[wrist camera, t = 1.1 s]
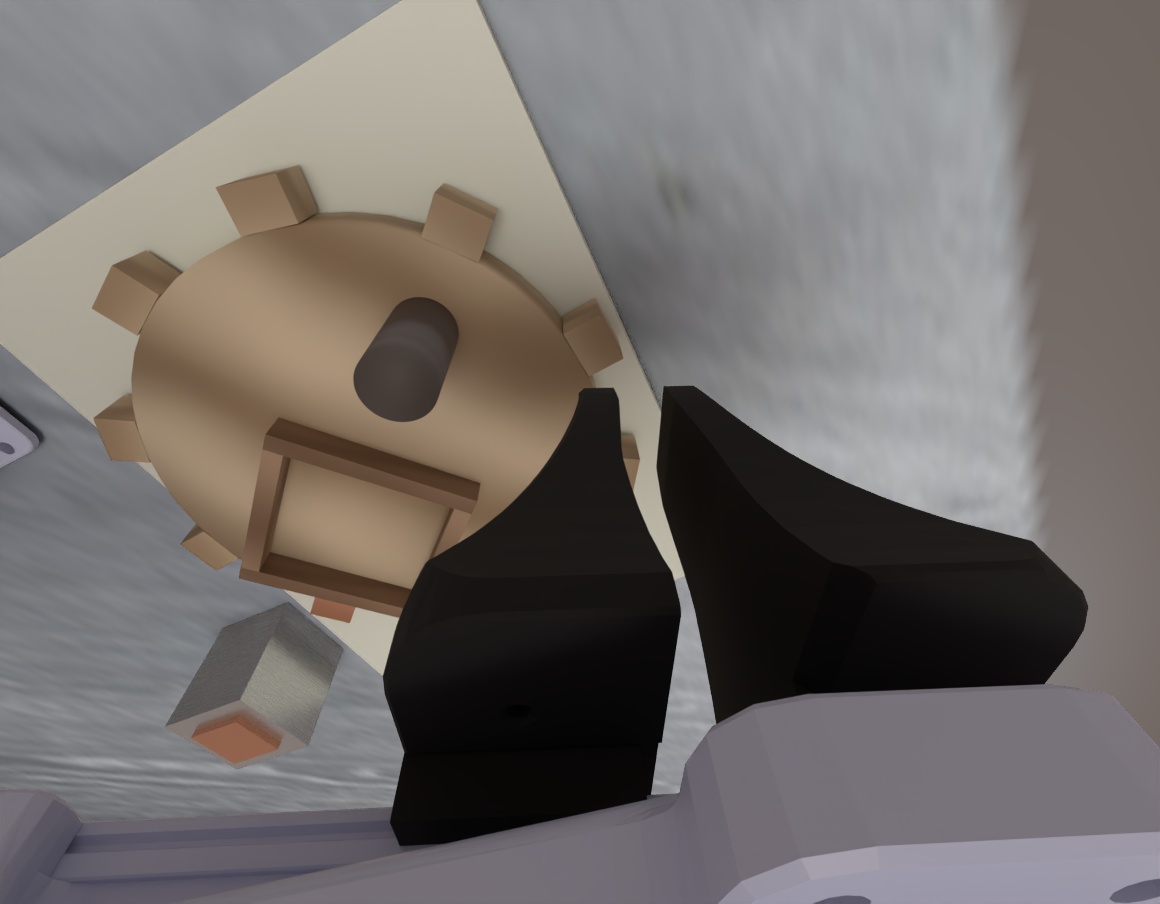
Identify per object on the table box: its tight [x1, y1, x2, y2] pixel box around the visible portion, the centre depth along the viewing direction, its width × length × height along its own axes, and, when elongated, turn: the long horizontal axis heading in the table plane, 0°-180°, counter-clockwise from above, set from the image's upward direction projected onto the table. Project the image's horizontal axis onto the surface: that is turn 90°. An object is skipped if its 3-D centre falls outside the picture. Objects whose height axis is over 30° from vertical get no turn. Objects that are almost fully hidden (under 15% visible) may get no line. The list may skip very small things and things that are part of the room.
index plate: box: [0, 0, 685, 676], centre depth 21 cm, size 18×22×2 cm
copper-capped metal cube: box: [165, 602, 343, 769], centre depth 26 cm, size 4×4×5 cm
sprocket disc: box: [91, 165, 640, 623], centre depth 18 cm, size 17×17×5 cm
